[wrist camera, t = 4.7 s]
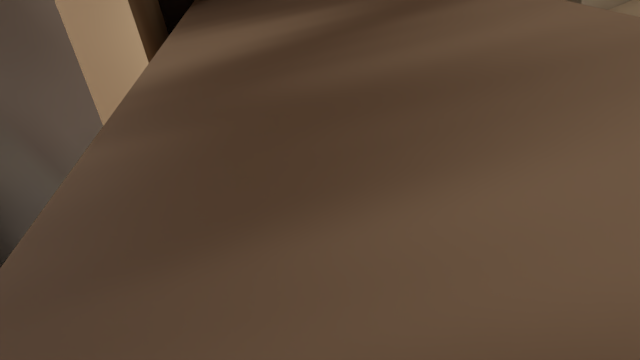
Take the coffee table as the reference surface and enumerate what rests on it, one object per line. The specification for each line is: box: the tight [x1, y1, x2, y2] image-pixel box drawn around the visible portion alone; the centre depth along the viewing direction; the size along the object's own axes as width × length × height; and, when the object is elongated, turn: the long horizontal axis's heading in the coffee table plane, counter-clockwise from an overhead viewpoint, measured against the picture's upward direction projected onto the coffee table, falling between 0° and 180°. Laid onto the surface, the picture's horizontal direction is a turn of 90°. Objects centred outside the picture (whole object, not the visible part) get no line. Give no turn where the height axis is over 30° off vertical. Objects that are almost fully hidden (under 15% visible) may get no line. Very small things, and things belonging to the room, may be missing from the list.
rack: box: [55, 0, 169, 126], centre depth 13 cm, size 16×18×5 cm
